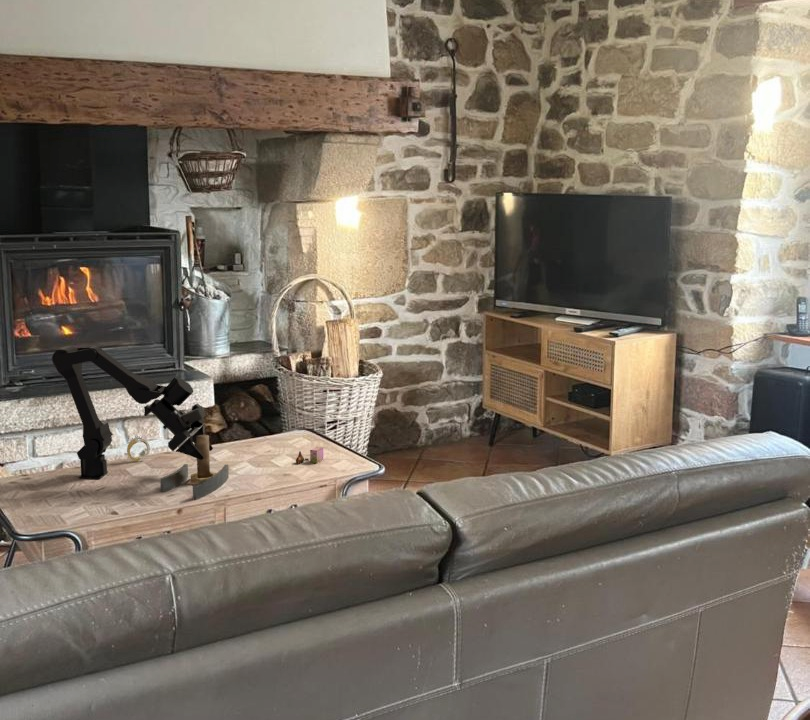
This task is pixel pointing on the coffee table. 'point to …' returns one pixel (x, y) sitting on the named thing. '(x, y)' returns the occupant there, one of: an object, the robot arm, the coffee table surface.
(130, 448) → the ring
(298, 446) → the coffee table surface
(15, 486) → the coffee table surface
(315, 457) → the perfume bottle
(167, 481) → the gray curved bar
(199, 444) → the brown cylinder
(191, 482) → the tile
